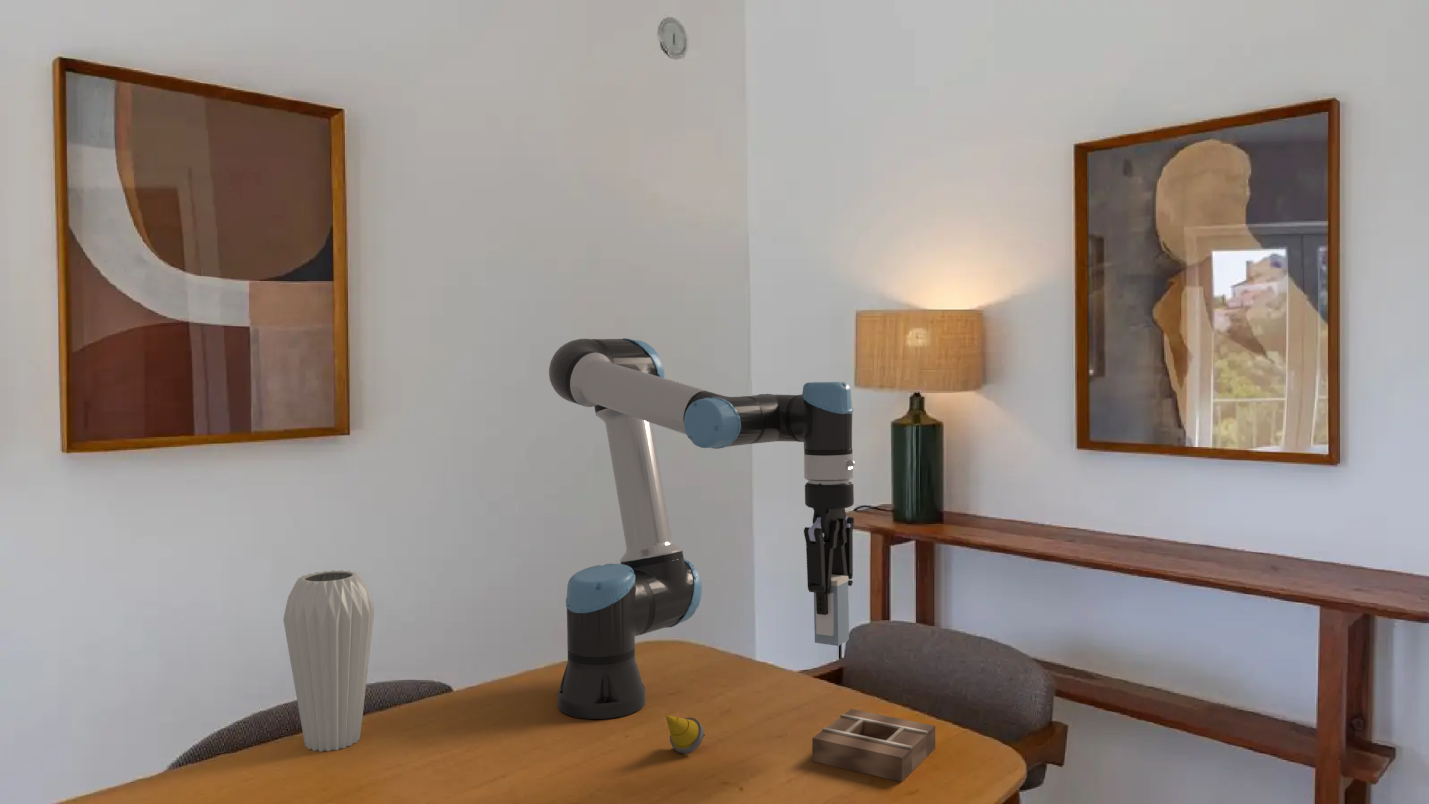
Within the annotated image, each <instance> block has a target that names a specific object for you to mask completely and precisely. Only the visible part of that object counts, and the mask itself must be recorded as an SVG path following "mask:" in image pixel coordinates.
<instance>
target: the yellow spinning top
mask: <svg viewBox="0 0 1429 804" xmlns="http://www.w3.org/2000/svg"><path fill="white" fill-rule="evenodd" d="M665 718H666V721H667V726H668V729H669V730H668V731H669V734H670V736H669V742H670V745H671V746H672V748H673V749H674V750H675V751H677V752H678V753H680V754H684V755H685V754H690V753H692V752H695V750H697V749H698V748H699V746H700V745H701V743H702V741H703V739H704V737H705V736H706V734H705V733H704V727H703V725H702V724H701V722H700V721H698V720H697V719H696V718H693V717H685V718H684V717H683V718H682V717H678V716H673V715H665Z"/></svg>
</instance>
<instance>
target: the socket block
mask: <svg viewBox="0 0 1429 804" xmlns="http://www.w3.org/2000/svg"><path fill="white" fill-rule="evenodd" d="M811 741H812V742H811V743H812V746H811V748H812V749H811V750H812V751H811V752H812V756H811V757H812V758H811V759H812V762H814V763H818V764H819V763H820V764H823V765H826V766H832V767H836V768H839V769H840V768H841V769H844V770H848V771H853V772H858V773H862V774H865V775H870V776H874V777H878V778H882V779H883V778H884V779H886V780H891V781H895V782H899V783H900V782H901V783H902V782H904V781H905V780H906V779H907V777H908V776H909V775H911V774H912V772H914V770H916V768H918V767H919V765H920V764H921V763H922V762H924V760H925V759H927V757H929V755H931V754H932V752H933V751H935V749H936V725H933V724H928V723H924V722H918V721H913V720H907V719H904V718H898V717H893V716H888V715H884V714H879V713H873V712H867V711H862V710H857V709H853V708H851V709H849V710H848V711H846V712H845V713H841V714H840V716H839V717H838V718H837V719H836V720H835V721H833V722H832V723H831V724H829V725H828V726H826V727H824V726H823V727H822V728H821V731H820V732H819V733H817V734H815V735H814V736H813V737H812V739H811Z"/></svg>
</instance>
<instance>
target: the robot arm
mask: <svg viewBox="0 0 1429 804" xmlns="http://www.w3.org/2000/svg"><path fill="white" fill-rule="evenodd" d="M553 354H554V355H553V356H552V358H551V360H550V364H549V368H548V376H549V381H550V385H551V387H553V390H554V391H555V393H556V394H557V395H558V396H559V397H561V398H562V399H564V400H565V401H568V402H571V403H573V404H577V405H580V406H582V407H585V408H592V407H594V411H595V416H596V417H597V418H599V419H600V420H602V421H603V422H604V423H605V429H606V434H607V441H608V445H609V446H608V447H609V452H610V453H609V454H610V458H611V463H612V465H611V466H612V470H613V475H614V482H615V483H614V484H615V488H616V489H615V490H616V494H617V500H618V506H619V513H620V517H621V518H620V520H621V523H622V524H621V525H622V530H623V536H624V541H625V549H626V550H625V552H624V554H623V556H622V557H621V558H620V560H619V562H620V563H606V564H603V565H599V564H597V565H593V566H589V567H586V568H583V569H581V570H579V571H577V572H575V573H574V574H572V576H570V578H569V580H568V582H567V585H566V598H565V606H566V622H567V623H566V628H567V629H566V631H567V634H566V635H567V637H566V639H567V641H566V642H567V644H566V645H567V662H566V666H565V670H564V671H563V675H562V679H561V684H560V686H559V689H558V692H557V707H558V710H560V711H561V712H562V713H563V714H564V715H568V716H570V717H573V718H580V719H585V720H586V719H587V720H597V719H598V720H603V719H604V720H605V719H613V718H619V717H620V718H621V717H625V716H628V715H631V714H633V713H636V712H639V710H641V709H642V708H644V706H645V705H646V687H645V684H644V683H643V681H642V676H641V673H640V671H639V666H638V663H637V660H636V640H635V639H636V637H637V636H642V635H645V634H648V633H651V632H655V631H658V630H661V629H665V628H666V629H667V628H674V627H675V626H677V625H679V624H681V623H684V622H686V621H688V620H690V618H692V617H693V616H694V614H695V613H696V611H697V609H698V608H699V606H700V603H701V600H702V594H703V587H702V578H701V576H700V574H699V571H698V569H697V568H695V567H694V566H695V565H694V564H693V563H692V562H691V561H690V560H687V559H685V557H684V552H683V548H682V547H681V546H679V545H677V544H676V543H675V542H674V541H673V537H672V530H671V526H670V521H669V514H668V509H667V508H668V507H667V502H666V497H665V491H664V486H663V485H664V484H663V479H662V474H661V473H662V472H661V467H660V461H659V455H658V450H657V445H656V444H657V443H656V440H655V432H654V427H653V424H654V425H657V426H659V427H662V428H666V429H668V430H670V431H675V432H678V433H681V434H683V435H686V437H687V438H688V439H689V440H690V441H691V442H692V444H693V445H695V446H696V447H699V448H702V449H717V450H720V449H722V448H723V449H724V448H729V447H735V446H736V447H737V446H744V445H752V444H754V445H755V444H764V443H773V442H774V443H775V442H797V443H803V449H804V450H803V453H804V454H803V458H804V459H803V466H804V467H803V470H804V471H803V472H804V474H803V477H804V479H805V480H806V481H807V482H806V483H805V484H804V504H805V506H806V507H808V508H809V509H810V508H811V509H813V517H812V525H811V527H807V526H805V527H804V528H803V535H804V540H805V547H806V548H805V549H806V550H805V551H806V552H805V553H806V572H807V573H806V575H807V576H806V577H807V590H808V591H809V593H814V592H815V594H816V634H821V635H828V636H833V635H834V593H831V592H830V591H831V577H832V575H842V576H848V587H852V585H853V583H854V582H853V580H852V579H853V573H854V569H853V567H854V566H853V564H854V563H853V562H854V561H853V559H854V557H853V556H854V553H853V551H854V550H853V549H854V548H853V546H854V545H853V544H854V543H853V538H854V537H853V534H854V533H853V531H854V525H855V518H854V516H847V512H846V509H847V508H851V507H852V506H853V505H854V503H855V501H854V500H855V499H854V498H855V497H854V493H855V492H854V483H853V482H852V481H850V480H852V479H853V478H854V470H853V469H854V467H855V465H856V462H855V460H853V458H854V457H853V411H854V408H853V405H852V403H853V402H852V391H851V390H852V389H851V386H850V385H849V384H848V383H847V382H845V381H818V382H817V381H816V382H815V381H812V382H811V381H810V382H806V383H804V384H803V387H802V393H801V394H772V393H761V394H755V395H754V394H753V395H748V396H726V395H722V394H719V393H715V392H711V391H708V390H704V389H702V388H698V387H695V386H691V385H688V384H685V383H681V382H679V381H678V382H677V381H675V380H672V379H668V378H665V368H664V364H663V361H662V359H661V357H660V355H659V353H658V351H656V349H655V348H654V347H652V346H651V345H650V344H648V343H647V342H646V341H642V340H639V339H631V338H625V337H624V338H579V339H574V340H570V341H568V342H566V343H565V344H563V345H562V346H559V348H558V349H557V350H556V351H555V352H554V353H553Z"/></svg>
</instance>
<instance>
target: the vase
mask: <svg viewBox="0 0 1429 804" xmlns="http://www.w3.org/2000/svg"><path fill="white" fill-rule="evenodd" d="M287 597H288V598H287V600H286V601H287V602H286V606H285V609H284V615H283V619H282V620H283V625H284V632H285V636H286V642H287V649H288V653H289V659H290V666H291V672H292V677H293V678H292V679H293V684H294V689H295V696H296V700H297V701H296V702H297V707H298V713H299V720H300V725H301V730H302V734H303V735H302V736H303V741H304V746H305V748H307V750H312V752H315V751H318V752H320V753H321V752H325V751H326V752H331V751H332V750H333V751H339V749H346V748H347V747H353V744H356V743H357V744H358V741H360V740H361V733H362V725H363V724H362V723H363V716H364V706H365V698H366V697H365V696H366V691H367V690H366V688H367V681H368V670H369V661H370V652H371V644H372V635H373V626H374V625H373V624H374V617H375V606H374V603H373V599H372V596H371V593H370V589H369V587H368V586H367V584H366V583H365V581H364V580H363V578H362V576H361V575H360V574H359V572H357V571H351V570H343V569H342V570H334V569H333V570H330V571H329V570H328V571H327V570H324V571H321V572H320V571H317V572H314V573H308V574H305V575H301V576H300V577H298V578H297V580H296V582H295V583H294V584H293V587H292V588H291V591H290V592H289V594H288V596H287Z"/></svg>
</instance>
